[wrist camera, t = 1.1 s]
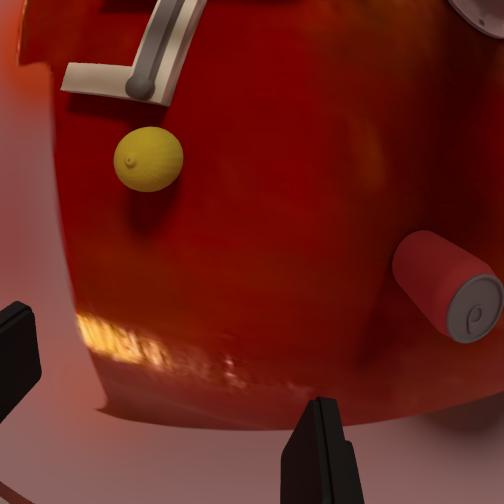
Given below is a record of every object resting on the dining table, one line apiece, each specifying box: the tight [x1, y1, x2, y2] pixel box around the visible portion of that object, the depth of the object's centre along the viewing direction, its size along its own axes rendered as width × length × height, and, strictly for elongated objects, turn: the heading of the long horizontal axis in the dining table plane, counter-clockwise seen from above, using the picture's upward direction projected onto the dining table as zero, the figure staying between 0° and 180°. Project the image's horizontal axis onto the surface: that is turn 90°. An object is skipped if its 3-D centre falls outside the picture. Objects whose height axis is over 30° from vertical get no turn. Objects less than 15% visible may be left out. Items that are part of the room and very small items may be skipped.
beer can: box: [392, 230, 504, 343], centre depth 24 cm, size 7×7×12 cm
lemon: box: [114, 127, 183, 192], centre depth 25 cm, size 6×6×8 cm
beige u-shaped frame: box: [61, 0, 207, 107], centre depth 23 cm, size 15×12×4 cm
